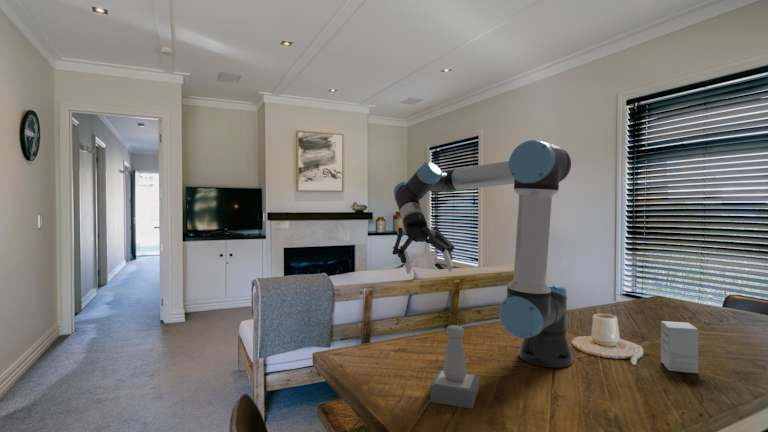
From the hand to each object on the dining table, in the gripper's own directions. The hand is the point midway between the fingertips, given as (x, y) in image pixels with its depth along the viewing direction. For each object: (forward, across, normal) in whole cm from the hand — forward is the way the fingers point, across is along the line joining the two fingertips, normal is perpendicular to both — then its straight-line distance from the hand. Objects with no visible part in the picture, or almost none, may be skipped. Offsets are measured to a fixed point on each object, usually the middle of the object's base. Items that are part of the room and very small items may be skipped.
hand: (430, 269), depth 125 cm
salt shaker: (+33, +4, 0) cm, 34 cm away
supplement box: (+38, -67, -2) cm, 77 cm away
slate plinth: (+36, +4, -3) cm, 37 cm away
